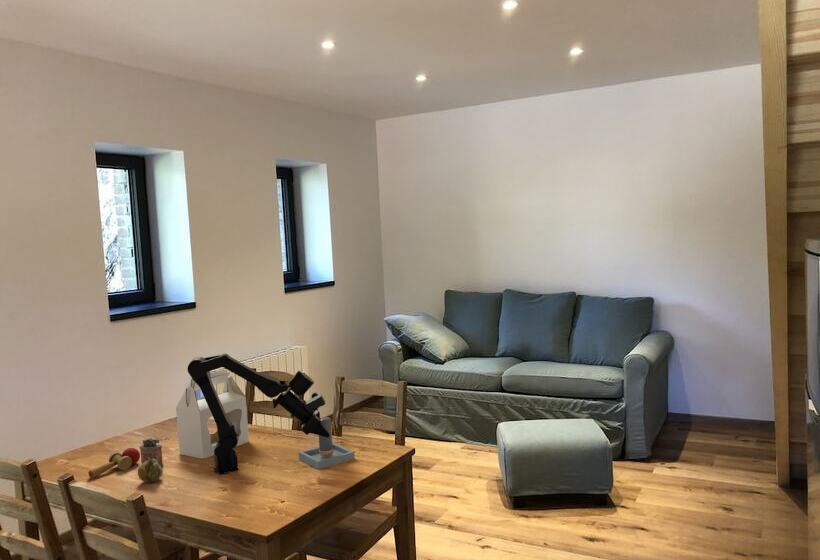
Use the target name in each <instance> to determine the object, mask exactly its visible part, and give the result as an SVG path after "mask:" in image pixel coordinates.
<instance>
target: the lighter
mask: <svg viewBox="0 0 820 560" xmlns="http://www.w3.org/2000/svg"><path fill="white" fill-rule="evenodd" d="M159 443H160V439H159V438H152V437H149V438H148V439H147V438H146V439H145V438H144V439H142V444H141V445H139V449H140V451H139V452H140V461H141V464H142V463H144V462H146V461H148V460H149V458H150V459H155V460H157V462H158V464H159V465H160V466H161V468H162V469H163V468H164V463H163V453H162V449H163V448H162V446H163V445H162V444H159Z"/></svg>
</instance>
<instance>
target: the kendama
mask: <svg viewBox="0 0 820 560" xmlns="http://www.w3.org/2000/svg"><path fill="white" fill-rule="evenodd" d="M140 460H141V452H140V451H139V450H138V449H137V448H135V447H128V448H126V449H125V450H124V451H123V452H122V454H121V453H120V452H113V453H111V454H110V456H109V457H108V463H104V464H102V465H99V466H97V467H95V468H92V469H90V470H88V473H87V474H88V476H89V477H90V479H91V480H93V479H95V478H96V477H98V476H100V475H102V474H104V473H105V472H108V471H109V470H111V469H113V468H114V467H115V466H117V468H118V469H119V470H121V471H127V470H129V468H131V466H134V465H136V464H137V463H138V462H139V461H140Z"/></svg>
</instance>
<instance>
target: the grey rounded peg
mask: <svg viewBox="0 0 820 560" xmlns="http://www.w3.org/2000/svg"><path fill="white" fill-rule="evenodd" d="M320 422H321V425H322V426H323V427H324V428H325V429H326V430H327V432H328V433H329V434H330V436H329V437H324V436H320V435H318V447H319V454H320V455H321V456H329V455H332V454H333V445H332V443H333V432H332V418H331V417H327V416H326V417H325V416H324V417H320Z"/></svg>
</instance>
